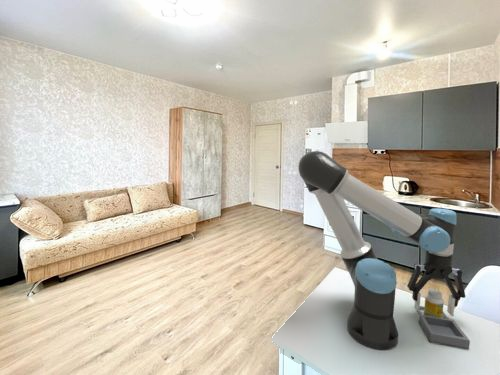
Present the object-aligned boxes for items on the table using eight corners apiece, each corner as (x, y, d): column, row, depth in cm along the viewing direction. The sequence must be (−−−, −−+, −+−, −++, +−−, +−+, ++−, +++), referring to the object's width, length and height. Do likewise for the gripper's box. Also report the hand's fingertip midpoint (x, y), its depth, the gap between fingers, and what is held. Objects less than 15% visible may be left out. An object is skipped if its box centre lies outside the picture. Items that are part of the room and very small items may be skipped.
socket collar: (423, 321, 87) (423, 319, 87) (414, 307, 95) (414, 305, 95) (453, 326, 84) (453, 324, 84) (441, 311, 93) (441, 309, 93)
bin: (430, 342, 77) (431, 333, 77) (418, 322, 87) (419, 314, 86) (468, 349, 74) (469, 340, 74) (452, 327, 84) (453, 319, 84)
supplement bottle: (427, 310, 94) (429, 286, 92) (444, 317, 89) (447, 293, 88) (421, 315, 91) (423, 290, 89) (438, 323, 86) (440, 297, 85)
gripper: (406, 253, 86) (401, 311, 89) (484, 260, 80) (476, 323, 83) (400, 245, 94) (395, 300, 96) (471, 252, 87) (464, 310, 90)
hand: (433, 311), depth 90 cm, fingers open, 10 cm apart
